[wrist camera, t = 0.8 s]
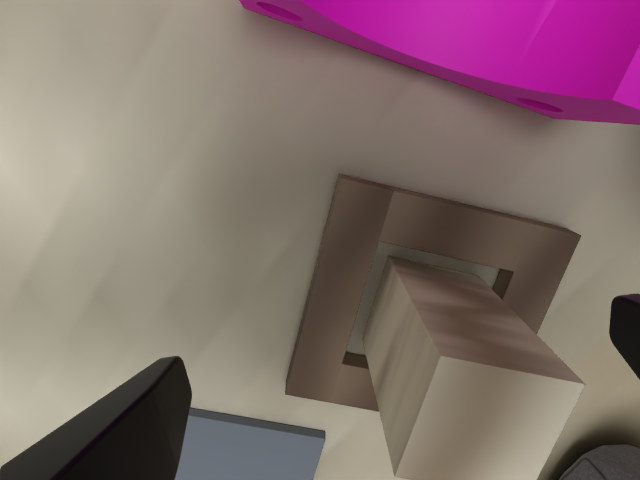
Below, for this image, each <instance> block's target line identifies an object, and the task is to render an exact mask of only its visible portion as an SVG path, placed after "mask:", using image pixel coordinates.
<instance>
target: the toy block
mask: <svg viewBox="0 0 640 480" xmlns="http://www.w3.org/2000/svg"><path fill="white" fill-rule="evenodd" d="M239 1H240V2H241V4H242V5H243V7H244V8H246V9H249V10H252V11H255V12H257V13H260V14H263V15H266V16H269V17H271V18H274V19H277V20H280V21H283V22H285V23H288V24H291V25H294V26H297V27H299V28H302V29H305V30H308V31H311V32H313V33H316V34H319V35H322V36H325V37H327V38H330V39H333V40H336V41H339V42H341V43H344V44H347V45H350V46H353V47H355V48H358V49H361V50H364V51H367V52H370V53H372V54H375V55H378V56H381V57H384V58H386V59H389V60H392V61H395V62H398V63H400V64H403V65H406V66H409V67H412V68H414V69H417V70H420V71H423V72H426V73H428V74H431V75H434V76H437V77H440V78H442V79H445V80H448V81H451V82H454V83H456V84H459V85H462V86H465V87H468V88H470V89H473V90H476V91H479V92H482V93H484V94H487V95H490V96H493V97H496V98H498V99H501V100H504V101H507V102H510V103H512V104H515V105H518V106H521V107H524V108H527V109H529V110H532V111H535V112H538V113H541V114H543V115H546V116H549V117H552V118H555V119H568V120H582V121H596V122H610V123H624V124H638V125H640V0H239Z"/></svg>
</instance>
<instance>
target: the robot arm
mask: <svg viewBox="0 0 640 480" xmlns="http://www.w3.org/2000/svg"><path fill="white" fill-rule="evenodd" d="M609 333H610V338H611V341H612V343H613V344H614V346H615V347H616V349H617V350H618V351H619V353H620V354H621V355H622V357H623V358H624V359H625V361H626V362H627V363H628V365H629V366H630V367H631V369H632V370H633V371H634V373H635V374H636V375H637V377H638V378H639V379H640V294H628V295H621V296H617V297H615V298H614V299H613V301H612V305H611V317H610V329H609ZM191 399H192V391H191V386H190V383H189V379H188V376H187V373H186V369H185V366H184V362H183V360H182V359H181V358H180V357H179V356H173V357H166V358H161V359H159V360H157V361H156V362H154V363H153V364H151V365H150V366H148V367H147V368H145V369H144V370H142V371H141V372H140V373H138V374H137V375H135V376H134V377H132V378H131V379H129V380H128V381H126V382H125V383H123V384H122V385H120V386H119V387H117V388H116V389H115V390H113V391H112V392H110V393H109V394H107V395H106V396H104V397H103V398H101V399H100V400H98V401H97V402H95V403H94V404H92V405H91V406H90V407H88V408H87V409H85V410H84V411H82V412H81V413H79V414H78V415H76V416H75V417H73V418H72V419H70V420H69V421H68V422H66V423H65V424H63V425H62V426H60V427H59V428H57V429H56V430H54V431H53V432H51V433H50V434H48V435H47V436H45V437H44V438H43V439H41V440H40V441H38V442H37V443H35V444H34V445H32V446H31V447H29V448H28V449H26V450H25V451H23V452H22V453H20V454H19V455H18V456H16V457H15V458H13V459H12V460H10V461H9V462H7V463H6V464H4V465H3V466H2V467H1V469H0V480H175V477H176V474H177V470H178V466H179V462H180V457H181V452H182V447H183V442H184V436H185V431H186V426H187V421H188V415H189V410H190V405H191Z"/></svg>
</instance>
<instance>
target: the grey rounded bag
mask: <svg viewBox="0 0 640 480" xmlns="http://www.w3.org/2000/svg"><path fill="white" fill-rule="evenodd" d="M559 480H640V448H637V447H634V446H632V445H629V444H626V445H602V446H600V447H598V448H596V449H593V450H591V451H589V452H587V453H585V454H583V455H582V456H581V457H580V458H579V459H578V460H577V461H576V462H575V463H574V464H573V465H572V466H571V467H569V468H568V469H567V470H566V471H565V472H564V473H563V474H562V476H561V477H560V479H559Z"/></svg>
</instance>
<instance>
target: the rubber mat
mask: <svg viewBox="0 0 640 480" xmlns="http://www.w3.org/2000/svg"><path fill="white" fill-rule="evenodd" d="M324 442H325V431H320V430H314V429H308V428H302V427H297V426H291V425H285V424H279V423H274V422H268V421H262V420H257V419H251V418H245V417H239V416H234V415H228V414H222V413H216V412H211V411H205V410H199V409H193V408H190V410H189V415H188V421H187V426H186V431H185V436H184V442H183V447H182V452H181V457H180V462H179V466H178V470H177V474H176V477H175V480H313V478H314V474H315V471H316V468H317V465H318V461H319V458H320V455H321V452H322V448H323V445H324Z"/></svg>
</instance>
